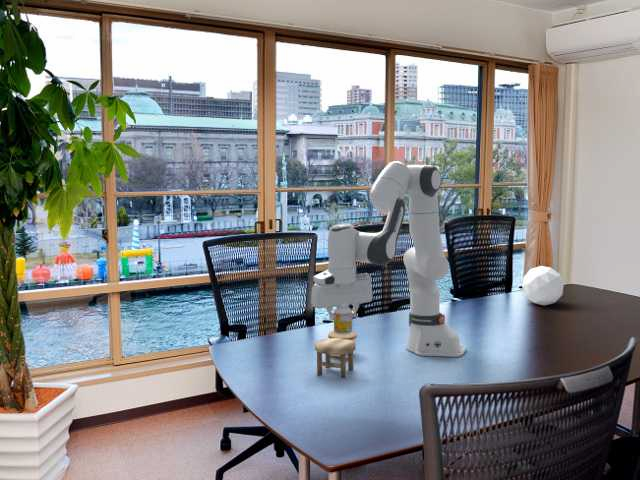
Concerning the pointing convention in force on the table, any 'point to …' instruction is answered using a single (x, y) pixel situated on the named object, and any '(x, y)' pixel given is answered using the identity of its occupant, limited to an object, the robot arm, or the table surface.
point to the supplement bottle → (343, 319)
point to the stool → (335, 354)
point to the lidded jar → (344, 336)
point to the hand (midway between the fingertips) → (342, 318)
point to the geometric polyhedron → (543, 285)
